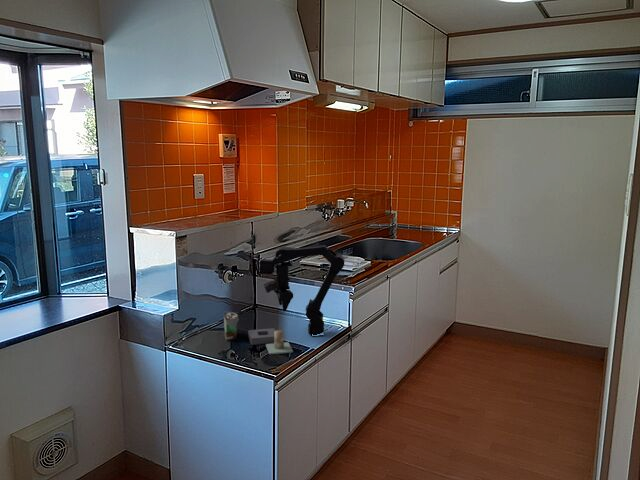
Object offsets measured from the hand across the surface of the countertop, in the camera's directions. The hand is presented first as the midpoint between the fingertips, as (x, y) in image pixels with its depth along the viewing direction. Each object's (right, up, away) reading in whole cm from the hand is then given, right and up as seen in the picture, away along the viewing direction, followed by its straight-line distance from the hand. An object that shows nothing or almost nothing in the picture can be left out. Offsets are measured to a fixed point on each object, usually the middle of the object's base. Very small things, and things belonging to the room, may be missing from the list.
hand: (282, 308), depth 228 cm
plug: (0, -15, -16) cm, 22 cm away
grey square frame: (-8, -13, -6) cm, 17 cm away
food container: (-23, -13, -3) cm, 26 cm away
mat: (0, -15, -16) cm, 22 cm away
